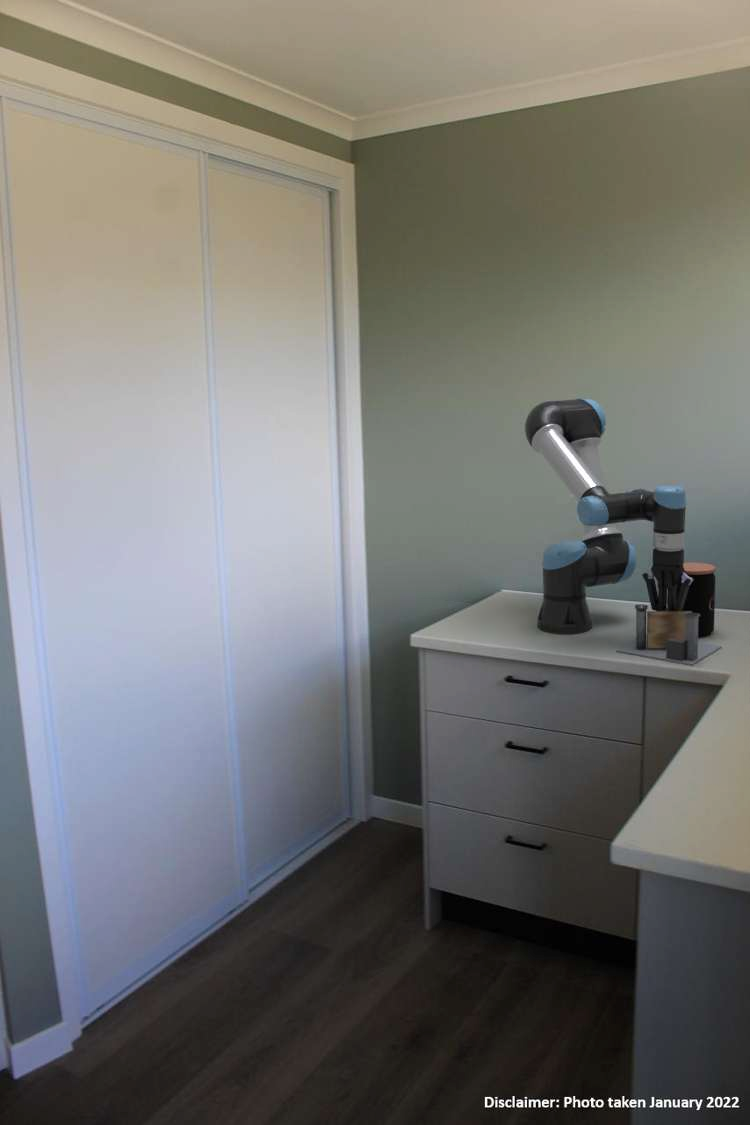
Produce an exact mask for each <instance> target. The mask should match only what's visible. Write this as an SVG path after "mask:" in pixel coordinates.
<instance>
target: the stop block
mask: <svg viewBox="0 0 750 1125" xmlns="http://www.w3.org/2000/svg"><path fill="white" fill-rule="evenodd" d="M685 652H686V640H682V639H676V638H670V639H668V640H667V648H666V658H668V659H674V660H679V661H683V660H685Z"/></svg>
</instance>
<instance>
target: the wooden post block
mask: <svg viewBox="0 0 750 1125" xmlns="http://www.w3.org/2000/svg"><path fill="white" fill-rule="evenodd" d="M689 612H691V611H655V610H652V611H651V610H650V611H647V610H646V634H647V647H648V648H667V640H668V639H670V638H676V639H682V640H686V618H685V617H684V615H685V614H687V613H689Z"/></svg>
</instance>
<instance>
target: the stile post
mask: <svg viewBox="0 0 750 1125" xmlns="http://www.w3.org/2000/svg"><path fill="white" fill-rule="evenodd" d="M699 616H700V614H699V613H692V612H689V613H687V614H685V615H684V617H685V618H686V652H685V659H686V660H692V661H694V660H695V659H697V658H698V642H699V637H698V617H699Z"/></svg>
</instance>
